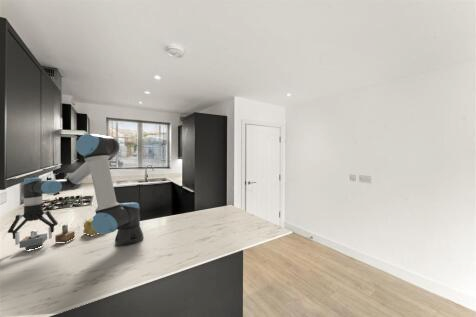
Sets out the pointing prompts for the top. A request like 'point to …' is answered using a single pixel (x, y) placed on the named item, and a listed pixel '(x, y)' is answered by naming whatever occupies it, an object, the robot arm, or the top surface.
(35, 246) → the hub
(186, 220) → the top surface
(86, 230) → the cheese
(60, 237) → the stand
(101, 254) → the top surface
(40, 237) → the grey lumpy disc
